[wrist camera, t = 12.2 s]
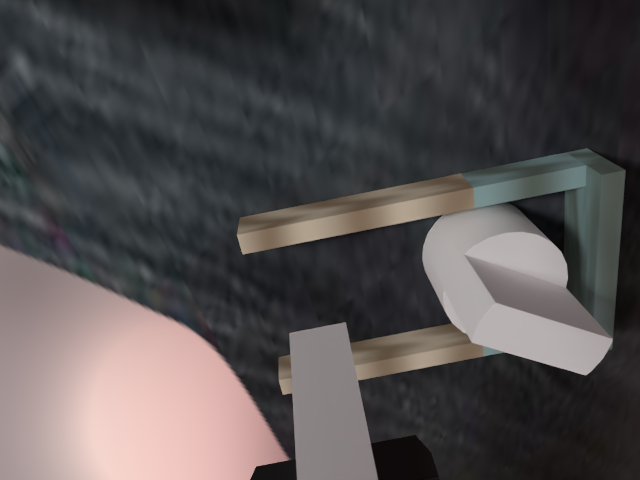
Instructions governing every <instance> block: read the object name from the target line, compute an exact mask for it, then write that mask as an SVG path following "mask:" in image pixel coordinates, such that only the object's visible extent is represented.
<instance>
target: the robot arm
mask: <svg viewBox="0 0 640 480" xmlns="http://www.w3.org/2000/svg"><path fill="white" fill-rule="evenodd" d="M289 335H290V355H291V374H292V393H293V412H294V432H295V451H296V459H294V460H289V461H284V462H278V463H273V464H268V465H262V466H257V467H256V468H255V470H254V473H253V475H252V477H251V479H250V480H439V476H438V473H437V470H436V467H435V464H434V460H433V457H432V454H431V452H430V451H429V450H428V449H427V448H426V447H425V445H424V444H423V443H422V442H421V441H420V440H419V439H418V438H417V436H416V435H413V436H408V437H402V438H397V439H392V440H387V441H381V442H376V443H370V438H369V433H368V428H367V424H366V419H365V414H364V409H363V404H362V399H361V394H360V390H359V385H358V380H357V375H356V370H355V365H354V361H353V356H352V351H351V346H350V341H349V336H348V331H347V327H346V322H345V323H340V324H334V325H329V326H324V327H319V328H314V329H309V330H303V331H298V332H293V333H289Z"/></svg>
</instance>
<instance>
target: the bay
mask: <svg viewBox="0 0 640 480" xmlns="http://www.w3.org/2000/svg"><path fill="white" fill-rule="evenodd" d="M625 171H626V170H624V169H623V168H621V167H619V166H617V165H616V164H614V163H612V162H610V161H609V160H607V159H605V158H603V157H602V156H600V155H598V154H596V153H594V152H593V151H591V150H589V149H587V148H586V149H581V150H576V151H571V152H566V153H561V154H556V155H551V156H546V157H541V158H536V159H531V160H526V161H521V162H516V163H511V164H506V165H501V166H496V167H491V168H486V169H481V170H476V171H471V172H466V173H461V174H456V175H451V176H446V177H441V178H436V179H431V180H426V181H421V182H416V183H411V184H406V185H401V186H396V187H391V188H386V189H381V190H376V191H371V192H366V193H361V194H356V195H351V196H346V197H341V198H336V199H331V200H326V201H321V202H316V203H311V204H306V205H301V206H296V207H291V208H286V209H281V210H276V211H271V212H266V213H261V214H256V215H251V216H246V217H241V218H240V220H239V226H238V232H237V237H238V240H239V244H240V247H241V251H242V254H247V253H252V252H257V251H262V250H267V249H272V248H278V247H283V246H288V245H293V244H298V243H303V242H308V241H313V240H318V239H323V238H328V237H333V236H338V235H343V234H348V233H353V232H358V231H363V230H368V229H373V228H378V227H383V226H388V225H393V224H398V223H403V222H408V221H414V220H419V219H424V218H429V217H434V216H439V215H444V214H449V213H454V212H459V211H464V210H469V209H474V208H479V207H484V206H489V205H494V204H499V203H504V202H509V201H514V200H519V199H524V198H529V197H534V196H539V195H544V194H550V193H555V192H560V191H565V216H564V259H565V261H566V264H567V272H568V281H567V285H566V288H567V289H568V291H569V292H570V293H571V294H572V295H573V296H574V297H575V298H576V299H577V300H578V301H579V303H580V304H581V305H582V306H583V307H584V308H585V309H586V310H587V311H588V312H589V314H590V315H591V316H592V317H593V318H594V319H595V320H596V321H597V322H598V323H599V324H600V326H601V327H602V328H603V329H604V330H605V331H606V332H607V333H608V334H609V335H610V336H611V338H612V339H613V329H614V316H615V303H616V290H617V277H618V263H619V250H620V237H621V224H622V211H623V197H624V184H625ZM612 343H613V340H612ZM350 346H351V351H352V356H353V361H354V365H355V370H356V375H357V380H362V379H368V378H373V377H378V376H383V375H388V374H394V373H399V372H404V371H409V370H414V369H420V368H425V367H430V366H435V365H440V364H446V363H451V362H456V361H461V360H466V359H472V358H477V357H482V356H487V355H492V354H498V353H503V351H499V350H496V349H492V348H489V347H485V346H482V345H478V344H475V343H472V342H471V340H470V339H469V337H468V335H467V334H466V333H463V332H462V331H461V330H459V329H458V328H457V327H456V326H455V325H454V324H447V325H441V326H436V327H431V328H426V329H421V330H416V331H410V332H405V333H400V334H395V335H390V336H385V337H380V338H374V339H369V340H364V341H359V342H354V343H350ZM611 349H612V344H611V346H610V347H609V349H608V350H611ZM279 383H280V386H281V390H282V393H283V395H284V394H290V393H292V374H291V355H287V356H281V357H279Z"/></svg>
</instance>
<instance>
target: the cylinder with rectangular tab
mask: <svg viewBox="0 0 640 480" xmlns="http://www.w3.org/2000/svg"><path fill="white" fill-rule="evenodd" d="M422 260H423V264H424V268H425V272H426V274H427V276H428V278H429V280H430V282H431V284H432V286H433V288H434V290H435V292H436V294H437V296H438V298H439V300H440V302H441V304H442V306H443V308H444V310H445V312H446V314H447V315H448V317H449V319H450V320H451V322H452V324H454V325H455V326H456V327H457V328H458V329H459V330H461V331H462V332H463V333H466V334H467V335H468V337H469V339H470V340H471V342H472V343H475V344H478V345H482V346H485V347H489V348H492V349H496V350H499V351H503V352H506V353H510V354H513V355H517V356H520V357H524V358H527V359H531V360H534V361H538V362H541V363H545V364H548V365H552V366H555V367H559V368H562V369H566V370H569V371H573V372H576V373H579V374H583V375H587V374H588V373H590V372H591V371H592V370H593V369H594V368H595V367H596V365H597V364H598V363H599V362H600V361H601V360H602V359H603V358H604V356H605V354H606V352H607V351H608V349H609V347H610V346H611V344H612V340H613V339H612V338H611V336H610V335H609V334H608V333H607V332H606V331H605V330H604V329H603V328H602V327H601V326H600V324H599V323H598V322H597V321H596V320H595V319H594V318H593V317H592V316H591V315H590V314H589V312H588V311H587V310H586V309H585V308H584V307H583V306H582V305H581V304H580V303H579V301H578V300H577V299H576V298H575V297H574V296H573V295H572V294H571V293H570V292H569V291H568V289H567V288H566V285H567V281H568V272H567V264H566V261H565V259H564V257H563V255H562V252H561V251H560V250H559V249H558V248H557V247H556V246H555V245H554V244H553V243H552V242H551V241H550V240H549V239H548V238H547V237H546V236H545V235H544V234H543V233H542V232H541V231H540V230H539V229H538V228H537V227H536V226H535V225H534V224H533V223H532V222H531V221H530V220H529V219H528V218H527V217H526V216H525V215H524V214H523V213H522V212H521V211H520V210H519V209H518V208H517V207H515V206H513V205H511V204H509V203H508V202H504V203H499V204H494V205H489V206H484V207H479V208H474V209H469V210H464V211H459V212H454V213H449V214H444V215H442V216H441V217H440V218H439V219H438V220H437V221H436V222H435V224H434V225H433V226H432V228H431V229H430V231H429V232H428V234H427V237H426V240H425V243H424V245H423V256H422Z"/></svg>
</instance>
